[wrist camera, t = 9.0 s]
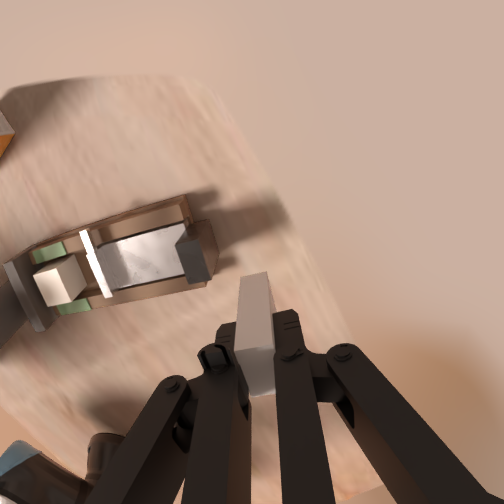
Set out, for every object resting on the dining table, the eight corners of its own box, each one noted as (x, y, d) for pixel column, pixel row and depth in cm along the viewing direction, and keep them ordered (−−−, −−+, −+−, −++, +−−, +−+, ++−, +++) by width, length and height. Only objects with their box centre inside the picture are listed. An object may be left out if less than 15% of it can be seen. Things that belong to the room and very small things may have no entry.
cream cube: (64, 290, 33) (47, 306, 30) (51, 261, 32) (32, 275, 28) (87, 285, 33) (71, 301, 29) (74, 253, 32) (56, 268, 28)
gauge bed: (58, 307, 36) (35, 332, 30) (30, 245, 32) (2, 264, 27) (211, 275, 33) (202, 305, 28) (185, 194, 30) (169, 209, 25)
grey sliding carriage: (118, 282, 32) (96, 309, 27) (94, 222, 30) (66, 241, 24) (221, 259, 31) (213, 286, 26) (200, 189, 29) (187, 203, 23)
